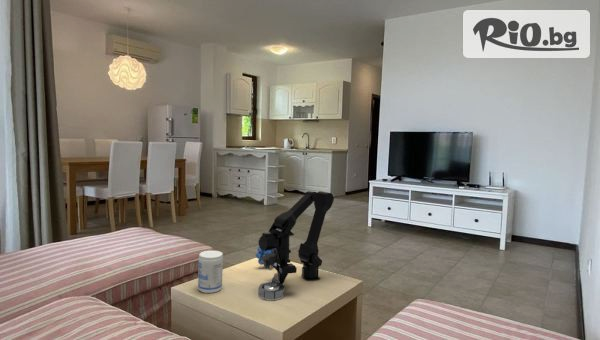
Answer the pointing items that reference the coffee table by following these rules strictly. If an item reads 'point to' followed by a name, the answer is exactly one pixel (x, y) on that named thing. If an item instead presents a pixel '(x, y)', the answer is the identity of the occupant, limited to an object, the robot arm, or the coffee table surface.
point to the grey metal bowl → (271, 288)
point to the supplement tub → (210, 271)
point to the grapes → (263, 253)
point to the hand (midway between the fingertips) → (281, 284)
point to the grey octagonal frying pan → (272, 294)
